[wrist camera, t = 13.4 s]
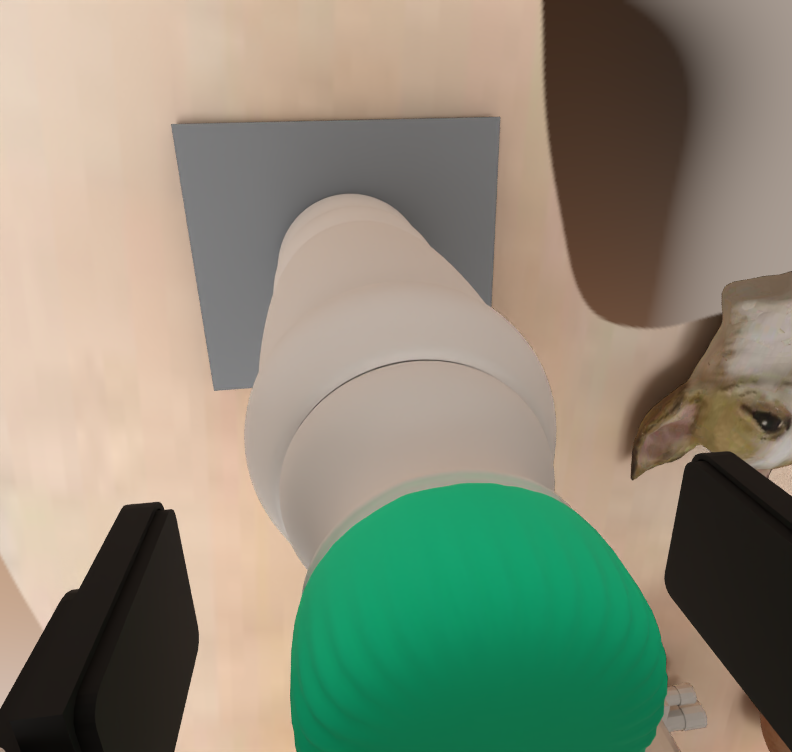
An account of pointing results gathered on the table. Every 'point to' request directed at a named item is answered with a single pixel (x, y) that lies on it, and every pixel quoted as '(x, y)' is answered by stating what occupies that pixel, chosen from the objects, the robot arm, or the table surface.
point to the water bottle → (432, 514)
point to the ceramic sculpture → (732, 386)
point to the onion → (772, 737)
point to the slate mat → (311, 182)
